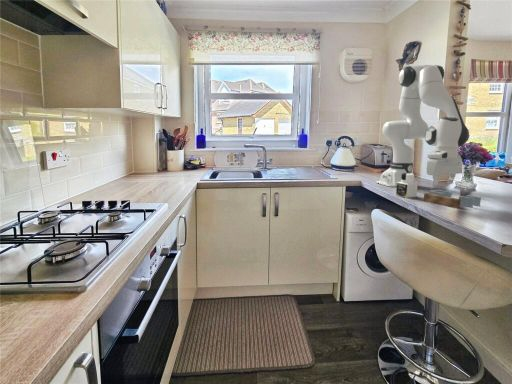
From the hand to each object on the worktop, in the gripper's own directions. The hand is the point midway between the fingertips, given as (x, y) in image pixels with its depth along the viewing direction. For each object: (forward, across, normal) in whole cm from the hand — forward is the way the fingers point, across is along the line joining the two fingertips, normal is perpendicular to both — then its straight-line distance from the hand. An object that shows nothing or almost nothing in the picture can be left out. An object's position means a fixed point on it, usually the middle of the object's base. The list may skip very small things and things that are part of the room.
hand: (443, 184), depth 153 cm
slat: (+10, 0, 0) cm, 10 cm away
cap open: (+9, -9, +7) cm, 15 cm away
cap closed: (+9, -9, -7) cm, 15 cm away
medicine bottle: (+9, -1, -20) cm, 23 cm away
